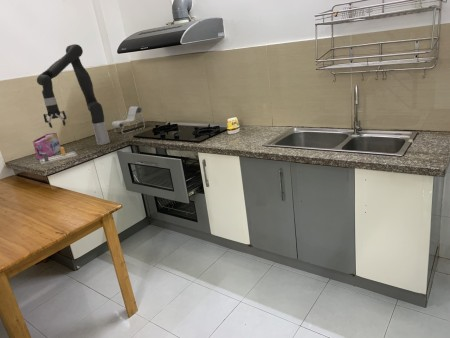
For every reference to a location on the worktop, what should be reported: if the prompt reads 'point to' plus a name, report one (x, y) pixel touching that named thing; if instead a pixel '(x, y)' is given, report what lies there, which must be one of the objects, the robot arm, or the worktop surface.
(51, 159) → the console
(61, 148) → the fader amber
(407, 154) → the worktop surface
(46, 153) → the fader charcoal
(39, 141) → the gum box
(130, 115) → the chair
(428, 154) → the worktop surface
